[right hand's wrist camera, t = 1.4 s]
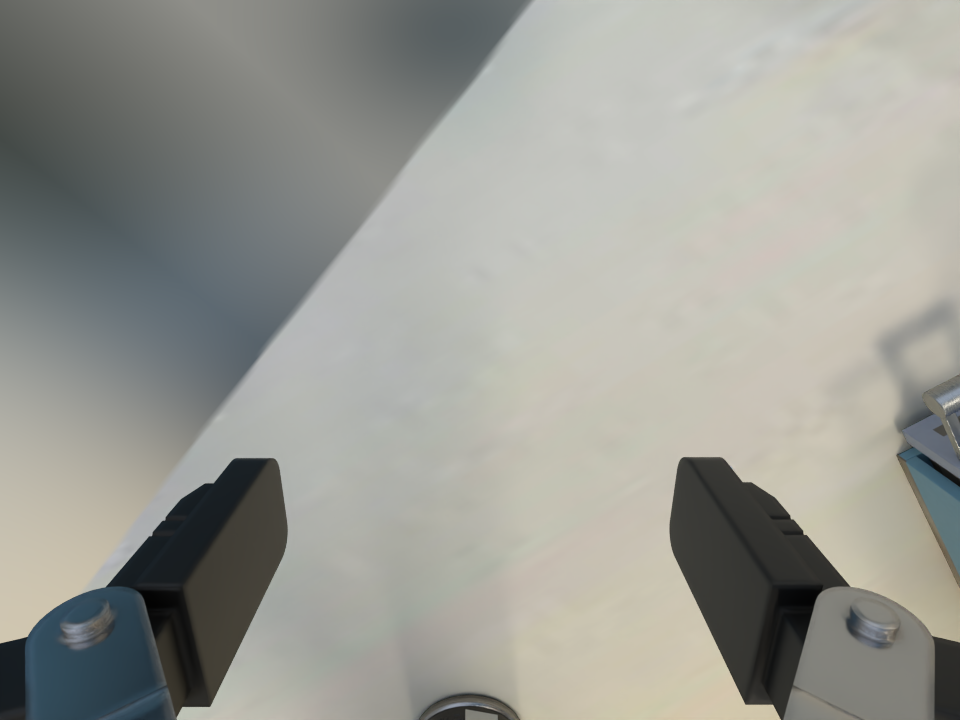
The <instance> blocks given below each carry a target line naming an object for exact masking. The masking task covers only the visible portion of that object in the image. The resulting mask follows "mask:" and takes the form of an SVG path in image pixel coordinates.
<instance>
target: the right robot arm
mask: <svg viewBox="0 0 960 720" xmlns="http://www.w3.org/2000/svg"><path fill="white" fill-rule="evenodd" d="M287 532H288V528H287V518H286V511H285V504H284V497H283V490H282V483H281V476H280V470H279V465H278V463H277V461H276V460H275V459H274V458H236V459H234V460H232V461H231V463H230V464H229V465H228V466H227V468H226V469H225V470H224V471H223V473H222V474H221V475H220V476H219V478H218V479H217V480H216V481H215V483H214V484H204V485H202V486H201V487H199V488H198V489H196V490H194V491H193V492H191V493H190V494H188V495H187V496H185V497H184V498H182V499H181V500H180V501H179V502H178V503H177V505H176V506H175V507H174V508H173V509H172V510H171V512H170V513H169V514H168V515H167V516H166V520H165V521H162V522H161V523H160V524H159V526H158V527H157V528H156V529H155V530H154V531H153V535H152V536H149V537H148V538H147V540H146V541H145V542H144V543H143V544H142V545H141V547H140V548H139V549H138V550H137V551H136V553H135V554H134V555H133V556H132V557H131V558H130V560H129V561H128V562H127V563H126V564H125V565H124V567H123V568H122V569H121V570H120V571H119V572H118V574H117V575H116V576H115V577H114V578H113V579H112V581H111V582H110V583H109V584H108V585H107V586H106V588H100V589H96V590H92V591H89V592H86V593H83V594H81V595H78V596H76V597H74V598H72V599H70V600H68V601H66V602H64V603H62V604H61V605H59V606H57V607H56V608H54V609H53V610H52V611H50V612H49V613H48V614H46V615H45V616H44V617H43V618H42V619H41V620H40V621H39V622H38V623H37V624H36V625H35V627H34V628H33V629H32V631H31V632H30V634H29V635H28V637H26V638H22V639H18V640H13V641H9V642H5V643H0V720H177V719H176V718H177V716H178V714H179V712H180V710H181V708H182V707H210V706H211V704H212V702H213V700H214V698H215V696H216V694H217V692H218V690H219V687H220V685H221V683H222V681H223V679H224V677H225V675H226V673H227V671H228V669H229V667H230V665H231V663H232V661H233V659H234V657H235V654H236V652H237V650H238V648H239V646H240V644H241V642H242V640H243V638H244V636H245V634H246V632H247V630H248V628H249V626H250V623H251V621H252V619H253V617H254V615H255V613H256V611H257V609H258V607H259V605H260V603H261V601H262V599H263V597H264V595H265V592H266V590H267V588H268V586H269V584H270V582H271V580H272V578H273V576H274V574H275V572H276V570H277V568H278V566H279V564H280V562H281V559H282V557H283V555H284V552H285V548H286V543H287ZM670 541H671V546H672V550H673V553H674V556H675V558H676V560H677V562H678V564H679V567H680V569H681V571H682V573H683V575H684V577H685V579H686V581H687V583H688V585H689V587H690V590H691V592H692V594H693V596H694V598H695V600H696V602H697V604H698V606H699V608H700V610H701V613H702V615H703V617H704V619H705V621H706V623H707V625H708V627H709V629H710V631H711V633H712V636H713V638H714V640H715V642H716V644H717V646H718V648H719V650H720V652H721V654H722V656H723V659H724V661H725V663H726V665H727V667H728V669H729V671H730V673H731V675H732V677H733V679H734V682H735V684H736V686H737V688H738V690H739V692H740V694H741V696H742V698H743V700H744V702H745V705H774V707H775V709H776V711H777V713H778V715H779V717H780V719H781V720H960V643H959V642H955V641H951V640H946V639H942V638H938V637H933V636H932V635H931V634H930V632H929V631H928V629H927V628H926V626H925V625H924V624H923V623H922V622H921V621H920V620H919V619H918V618H917V617H916V616H915V615H914V614H912V613H911V612H910V611H908V610H907V609H906V608H904V607H903V606H901V605H899V604H898V603H896V602H894V601H892V600H890V599H888V598H886V597H884V596H882V595H879V594H877V593H874V592H871V591H868V590H864V589H860V588H854V587H850V586H849V584H848V583H847V582H846V581H845V580H844V579H843V577H842V576H841V575H840V574H839V573H838V572H837V570H836V569H835V568H834V567H833V566H832V564H831V563H830V562H829V561H828V560H827V559H826V557H825V556H824V555H823V554H822V553H821V551H820V550H819V549H818V548H817V547H816V546H815V544H814V543H813V542H812V541H811V540H810V538H809V537H808V536H807V535H804V534H803V530H802V529H801V528H800V527H799V525H798V524H797V523H796V522H795V521H794V520H791V518H790V515H789V514H788V512H787V511H786V510H785V509H784V508H783V507H782V505H781V504H780V503H779V502H778V501H777V500H776V498H775V497H773V496H771V495H770V494H768V493H767V492H765V491H764V490H762V489H761V488H759V487H758V486H756V485H755V484H753V483H751V482H742V481H741V480H740V478H739V477H738V476H737V475H736V473H735V472H734V471H733V470H732V468H731V467H730V466H729V465H728V463H727V462H726V461H725V460H724V459H723V458H721V457H683V458H682V459H681V460H680V462H679V464H678V468H677V475H676V482H675V489H674V496H673V503H672V511H671V518H670ZM419 720H519V719H518V717H517V716H516V714H515V713H514V712H513V711H512V710H511V709H510V708H509V707H507V706H506V705H504V704H502V703H501V702H499V701H496V700H494V699H491V698H487V697H483V696H476V695H462V696H455V697H451V698H447V699H444V700H442V701H439V702H437V703H435V704H434V705H432V706H431V707H430V708H428V709H427V710H426V711H425V712H424V713H423V714H422V716H421V717H420V719H419Z"/></svg>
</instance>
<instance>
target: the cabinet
mask: <svg viewBox="0 0 960 720" xmlns="http://www.w3.org/2000/svg"><path fill="white" fill-rule="evenodd" d="M897 458H898V460H899V462H900V464H901V466H902V468H903V470H904V472H905V474H906V476H907V479H908V481H909V483H910V485H911V487H912V489H913V491H914V493H915V495H916V497H917V499H918V502H919V504H920V506H921V508H922V510H923V512H924V514H925V516H926V518H927V520H928V522H929V525H930V527H931V529H932V531H933V533H934V535H935V537H936V539H937V541H938V543H939V545H940V548H941V550H942V552H943V554H944V556H945V558H946V560H947V562H948V564H949V566H950V568H951V571H952V573H953V575H954V577H955V579H956V581H957V583H958V585H959V587H960V487H959V486H958V485H956V484H955V483H953V482H952V481H951V480H949V479H948V478H946V477H945V476H944V475H942V474H941V473H939V472H938V471H936V470H935V469H934V467H933V465H932V463H931V461H930V458H929V457H927V456H926V455H925V454H923V453H922V452H920V451H919V450H917V449H916V448H914V447H913V448H911V449H909V450H907V451H905V452H903V453H901V454H899V455H897Z"/></svg>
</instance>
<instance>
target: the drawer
mask: <svg viewBox="0 0 960 720" xmlns="http://www.w3.org/2000/svg"><path fill="white" fill-rule="evenodd" d="M922 398H923V401H924V403H925V404H926V406H927V407H928V408H929V409H930V410H931V411H932V412H933V413H934V414H933V415H931V416H929V417H927V418H925V419H923V420H921V421H919V422H917V423H915V424H913V425H911V426H909V427H907V428H905V429H903V430H902V432H903V434H904V436H905V438H906V441H907V443H909V444H910V445H911V446H913V447H914V448H916V449H917V450H919V451H920V452H922V453H923V454H925V455H926V456H927V457H929V458H930V461H931V463H932V465H933V467H934V469H935V470H936V471H938V472H939V473H941V474H942V475H944V476H945V477H946V478H948V479H949V480H951V481H952V482H953V483H955V484H956V485H958V486H959V487H960V374H959V375H957V376H955V377H953V378H952V379H950V380H948V381H946V382H944V383H942V384H940V385H938V386H936V387H934V388H932V389H930V390H929V391H927V392H925V393H923V394H922Z"/></svg>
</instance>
